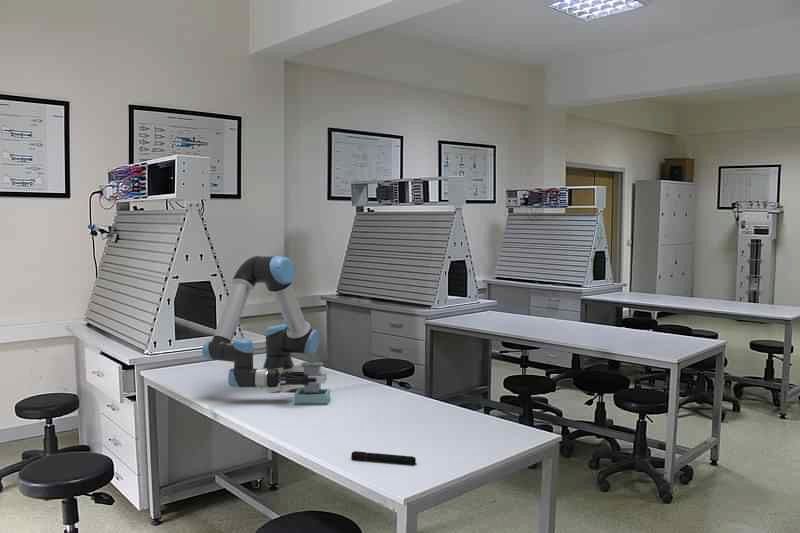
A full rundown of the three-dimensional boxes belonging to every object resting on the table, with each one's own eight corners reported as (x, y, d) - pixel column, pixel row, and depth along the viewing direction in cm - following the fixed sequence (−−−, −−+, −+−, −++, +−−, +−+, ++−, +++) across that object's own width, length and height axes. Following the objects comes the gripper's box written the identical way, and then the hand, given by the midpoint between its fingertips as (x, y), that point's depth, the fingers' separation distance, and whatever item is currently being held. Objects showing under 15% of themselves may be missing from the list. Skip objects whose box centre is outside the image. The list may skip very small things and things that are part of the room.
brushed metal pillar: (303, 396, 249) (303, 362, 248) (323, 396, 249) (322, 362, 248) (301, 399, 245) (301, 364, 244) (321, 399, 244) (321, 364, 243)
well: (298, 398, 251) (298, 388, 251) (330, 398, 251) (330, 388, 251) (294, 404, 242) (294, 394, 242) (327, 404, 242) (327, 395, 242)
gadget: (416, 455, 184) (352, 450, 188) (415, 458, 181) (350, 453, 185) (416, 463, 184) (352, 458, 188) (414, 467, 181) (350, 461, 186)
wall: (309, 398, 266) (310, 369, 276) (304, 387, 259) (305, 358, 270) (272, 403, 266) (274, 375, 277) (266, 393, 260) (269, 364, 271)
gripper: (272, 381, 255) (328, 381, 255) (262, 393, 238) (322, 393, 238) (272, 363, 255) (328, 364, 254) (262, 374, 237) (322, 374, 237)
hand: (325, 378), depth 246 cm, fingers closed on brushed metal pillar, 4 cm apart
